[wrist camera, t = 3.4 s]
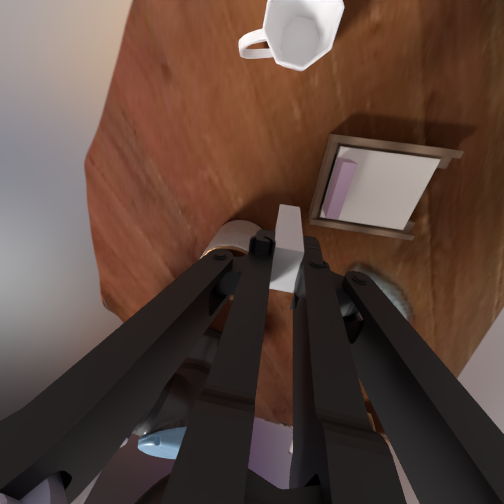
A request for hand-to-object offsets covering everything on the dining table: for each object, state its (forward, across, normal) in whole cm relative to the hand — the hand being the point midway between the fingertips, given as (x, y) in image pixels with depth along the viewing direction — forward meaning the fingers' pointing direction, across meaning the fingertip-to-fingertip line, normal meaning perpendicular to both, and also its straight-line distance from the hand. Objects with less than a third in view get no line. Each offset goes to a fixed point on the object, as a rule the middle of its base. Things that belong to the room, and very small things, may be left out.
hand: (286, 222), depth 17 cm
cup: (+19, -3, +14) cm, 24 cm away
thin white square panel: (+17, +12, 0) cm, 20 cm away
